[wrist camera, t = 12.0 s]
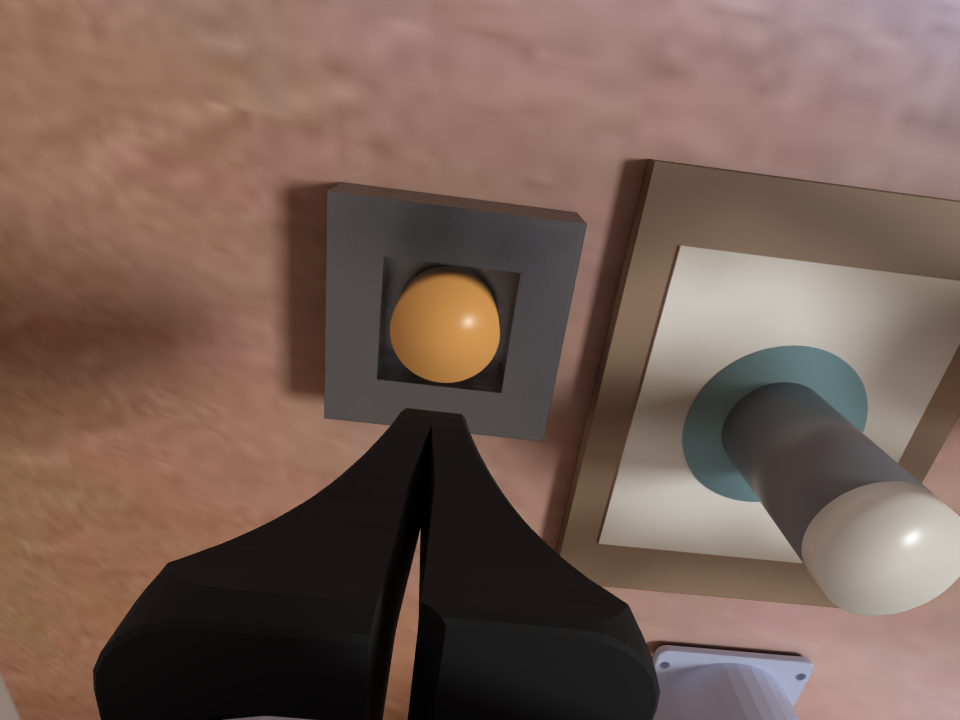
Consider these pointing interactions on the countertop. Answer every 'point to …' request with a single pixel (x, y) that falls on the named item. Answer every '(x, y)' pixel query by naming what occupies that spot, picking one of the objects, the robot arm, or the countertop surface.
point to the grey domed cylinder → (842, 502)
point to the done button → (445, 325)
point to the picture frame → (755, 366)
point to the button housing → (454, 243)
